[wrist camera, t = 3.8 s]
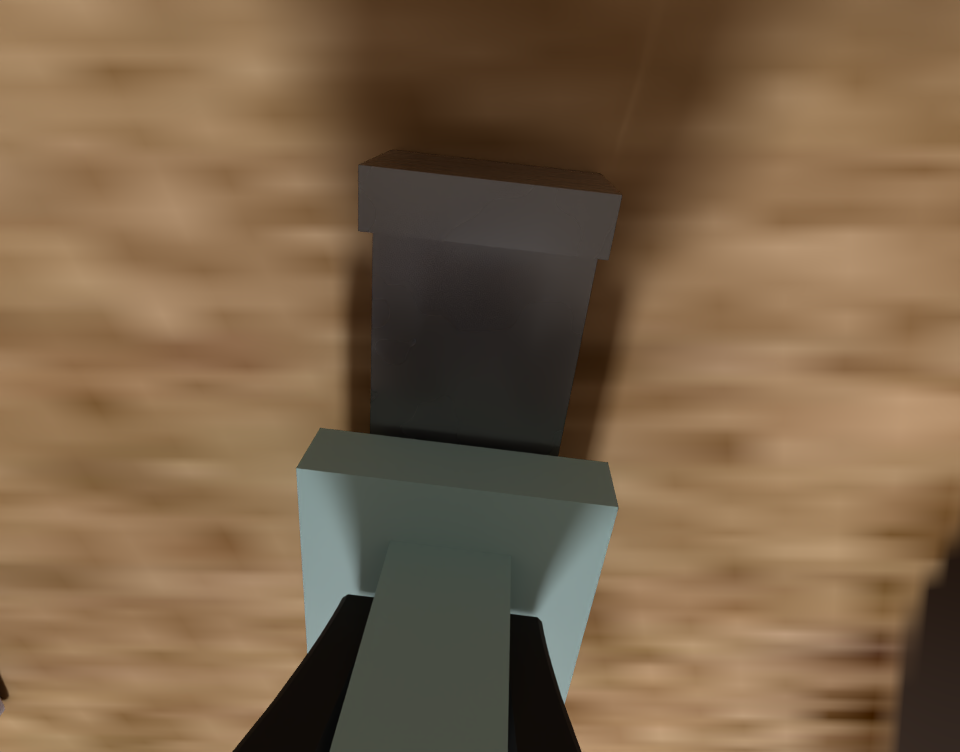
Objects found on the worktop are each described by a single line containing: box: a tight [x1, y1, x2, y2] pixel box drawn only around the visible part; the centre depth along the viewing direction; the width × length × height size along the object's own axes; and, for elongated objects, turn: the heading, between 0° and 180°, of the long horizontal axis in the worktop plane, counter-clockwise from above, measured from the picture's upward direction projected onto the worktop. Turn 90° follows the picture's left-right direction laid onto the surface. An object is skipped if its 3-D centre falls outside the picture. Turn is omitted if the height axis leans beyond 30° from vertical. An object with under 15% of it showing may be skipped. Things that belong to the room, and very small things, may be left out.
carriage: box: [296, 428, 618, 752], centre depth 11 cm, size 6×6×5 cm
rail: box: [358, 150, 622, 456], centre depth 15 cm, size 4×26×2 cm, turn 174°
